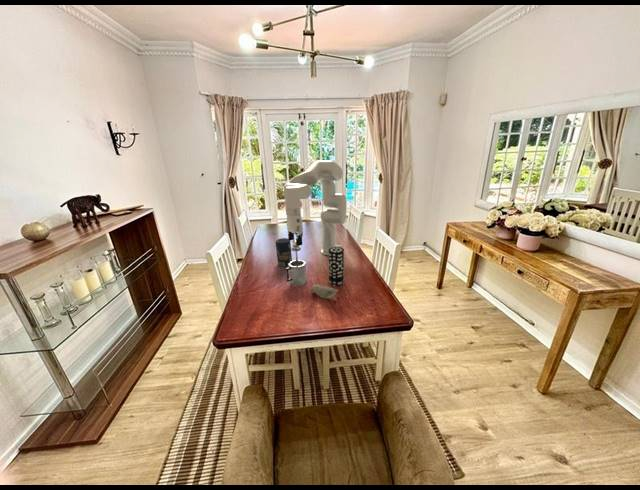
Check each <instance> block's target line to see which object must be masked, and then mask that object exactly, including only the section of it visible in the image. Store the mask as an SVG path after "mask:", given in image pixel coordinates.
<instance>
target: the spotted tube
mask: <svg viewBox="0 0 640 490" xmlns="http://www.w3.org/2000/svg"><path fill="white" fill-rule="evenodd" d="M344 275H345V249H344V248H343V247H332V248H329V255H328V283H329V285H330V286H332V287H341V286H343V285H344V283H345V282H344V281H345V280H344V279H345V276H344Z"/></svg>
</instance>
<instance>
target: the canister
mask: <svg viewBox="0 0 640 490" xmlns="http://www.w3.org/2000/svg"><path fill="white" fill-rule="evenodd" d="M291 243H292V242H291V240H290V241H289V239H288V237H287V238H286V237H282V238H278V239H277V240H275V250H276V259H277V265H278V266H279V267H289V266H288V264H289V263H290V262H291V261H293V256H292V245H291Z"/></svg>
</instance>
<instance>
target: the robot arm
mask: <svg viewBox="0 0 640 490" xmlns="http://www.w3.org/2000/svg"><path fill="white" fill-rule="evenodd" d="M343 175H344V172H343V168H342V167H341V166H340V165H339V164H338V163H336V162H335V161H333V160H328V159H327V160H316V161H314V162H313V163H312V164H310V166H309V168H308V169H306V171H305V172H302V173H299V174H297V175H295V176H293V177H292V178H290V180H288V182H286V183H285V186H284V188H283V193H284V204H285V214H286V228H287V236H288V237H287V239H289V241H290V242H291V241H293V240H296V245H297V246H299V247H300V246H302V245H303V236H304V235H303V234H304V227H303V217H302V211H301V209H302V208H301V200H306V199H309V198H310V196H311V194H312V188H311V187H310V186H313V185H315V184H317V183H318V182H319V181H320V183H321V186H322V204H323V207H325V209H322V211H321V212H320V221H321V230H322V249H321V250H320V253H321V254H322V255H325V256H329V248H332V247H341V248H343V247H342V245H341V244H337V227H336V225H344V224H345V223H346V220H347V203H348V202H347V197H346V195H345V194H344V193H338V192H337V193H336V190H337V189H336V183H335V182H337V181H340V180H342V178H343ZM332 208H333V209H332Z"/></svg>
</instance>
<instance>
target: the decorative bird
mask: <svg viewBox="0 0 640 490" xmlns="http://www.w3.org/2000/svg"><path fill="white" fill-rule="evenodd" d="M337 292H339V289H336V288H333V287H330V286H326V285H320V284H314V285H313V286H312V287H311V293H312V294H317V295H318V296H319V297H320V298H322V299H323V298H324V299H327V300H328V299H329V300H332V301H334V302H333V305H334V304H335V303H336V302H338V301H339V300H340V297H337V295H336V293H337ZM334 297H335V298H336V299H335V300H334Z"/></svg>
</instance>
